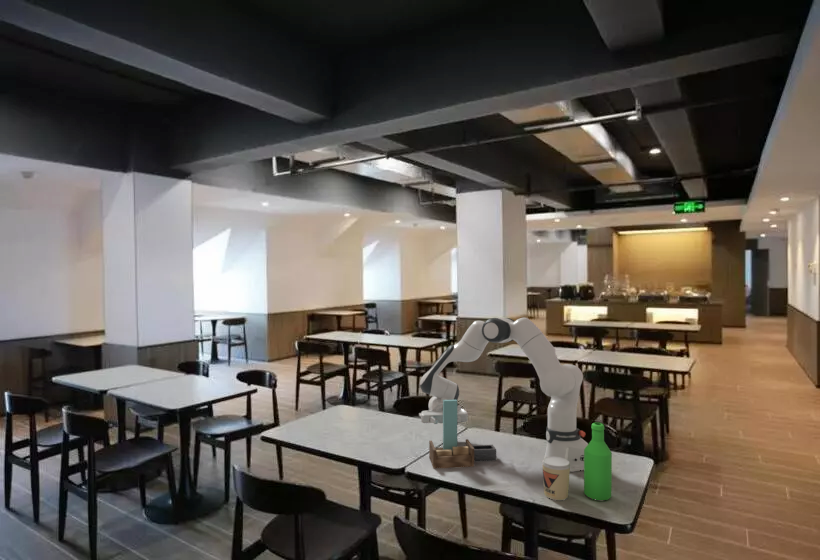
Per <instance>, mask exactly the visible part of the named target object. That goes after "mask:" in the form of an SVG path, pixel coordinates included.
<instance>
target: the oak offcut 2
mask: <svg viewBox="0 0 820 560" xmlns="http://www.w3.org/2000/svg"><path fill="white" fill-rule="evenodd" d="M453 455H468V446H466V445H465V446H464V445H463V446H457V447H453Z"/></svg>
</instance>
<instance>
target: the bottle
mask: <svg viewBox="0 0 820 560" xmlns="http://www.w3.org/2000/svg"><path fill="white" fill-rule="evenodd" d="M604 430H605V425H604V423H602V422H593V423H592V424H591V440H590V441H589V442H588V445H587V446H586V448H585V449H584V470H583V494H584V495H586V496H587V497H588V498H589V497H590V498H592V499H591V500H593V499H596V500H606V501H608V500H609V499H611V498H612V487H613V486H612V485H613V484H612V481H613V479H612V475H613V473H612V471H613V469H612V468H613V467H612V466H613V464H612V463H613V462H612V460H613V458H612V455H613V454H612V451H611V450H610V448H609V446H608V444H606V442H605V431H604ZM590 498H589V499H590ZM596 500H595V501H596Z"/></svg>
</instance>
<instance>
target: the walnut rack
mask: <svg viewBox="0 0 820 560" xmlns="http://www.w3.org/2000/svg"><path fill="white" fill-rule="evenodd" d="M428 443H429V444H428V445H429V448H428V449H429V453H428V455H429V461H430V463H431V466H432V469H433V470H434V469H451V468H452V469H455V468H474V467H475V462H474V448H473V446H472V445H473V444H472V443H471V441H470V440H469V439H468V438H467V439H465V446H468V455H453V451H452V455H449V456H436V450H443V446H442V447H436V446H435V445H434V442H433V440H429V442H428Z"/></svg>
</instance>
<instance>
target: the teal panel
mask: <svg viewBox="0 0 820 560" xmlns="http://www.w3.org/2000/svg"><path fill="white" fill-rule="evenodd" d="M457 405H458V399H457V400H443V423H442V447H443V450H447V449H451V450H452V451H453V447H458V423H457Z"/></svg>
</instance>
